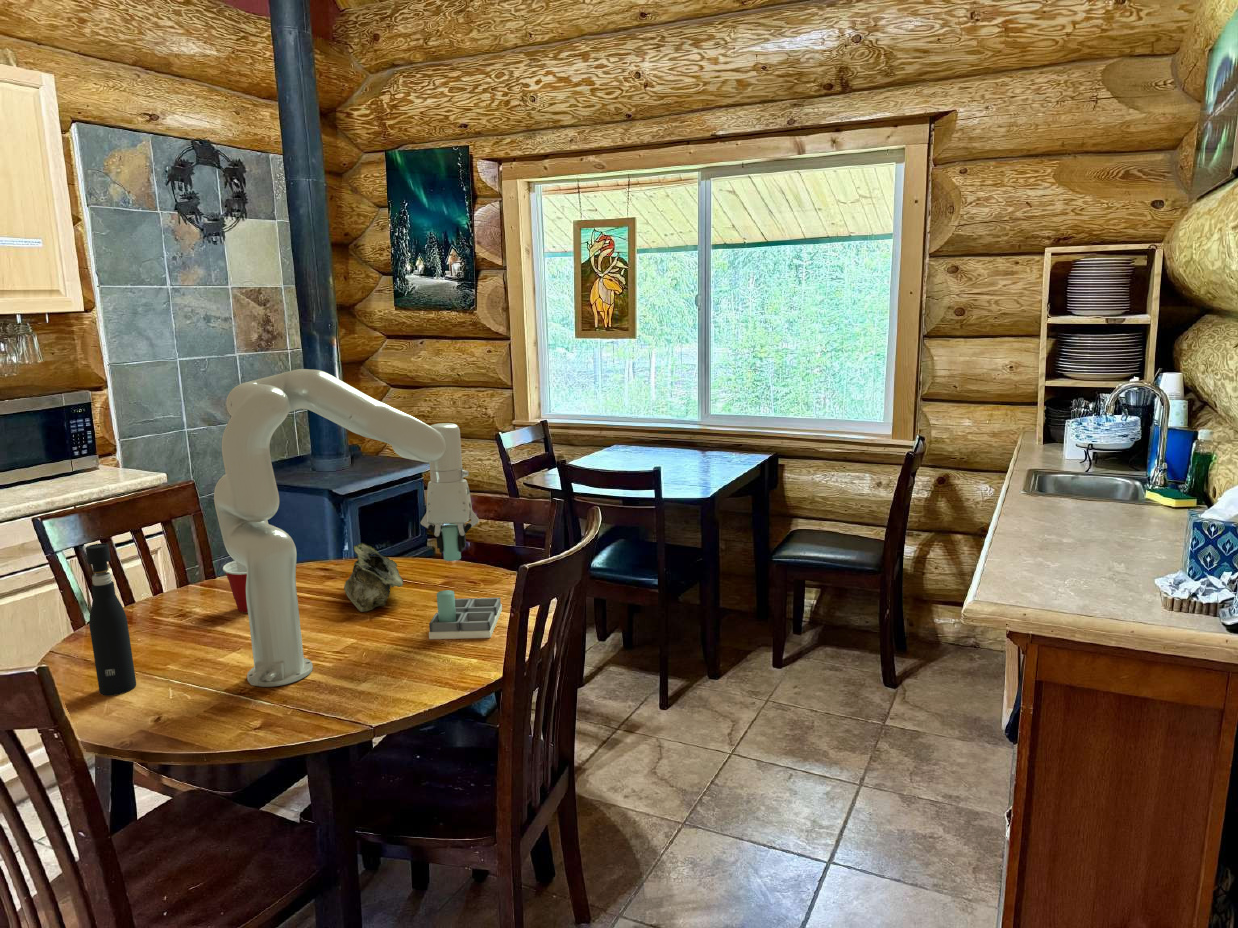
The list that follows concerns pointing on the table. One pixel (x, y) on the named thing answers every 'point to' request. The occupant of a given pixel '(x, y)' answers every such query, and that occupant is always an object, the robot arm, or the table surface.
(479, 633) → the pin board
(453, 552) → the teal peg
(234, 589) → the plastic cup
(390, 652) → the table surface
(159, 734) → the table surface
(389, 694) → the table surface
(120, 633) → the black water bottle
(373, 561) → the hollow geode rock
